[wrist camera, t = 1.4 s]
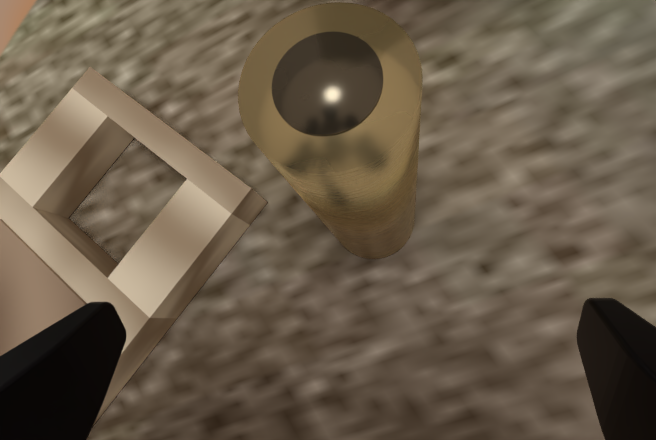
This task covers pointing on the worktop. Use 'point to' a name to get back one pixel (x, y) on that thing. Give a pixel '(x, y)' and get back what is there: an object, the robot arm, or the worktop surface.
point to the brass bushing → (340, 119)
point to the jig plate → (82, 252)
